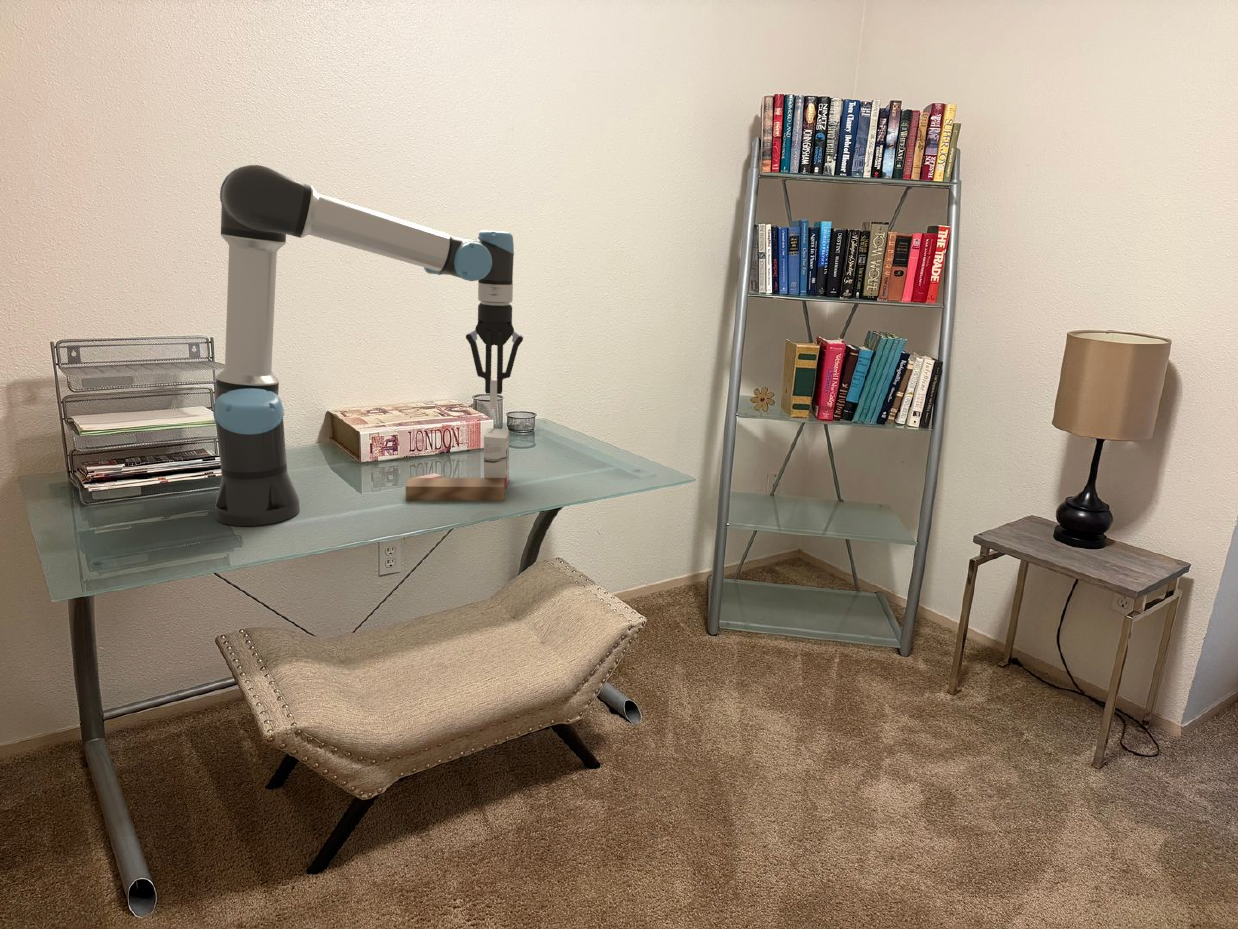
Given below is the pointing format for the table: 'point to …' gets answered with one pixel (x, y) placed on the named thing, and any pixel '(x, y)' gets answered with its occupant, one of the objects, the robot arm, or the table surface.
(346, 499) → the table surface
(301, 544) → the table surface
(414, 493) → the wooden block
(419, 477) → the eraser
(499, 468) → the ink box
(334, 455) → the table surface
